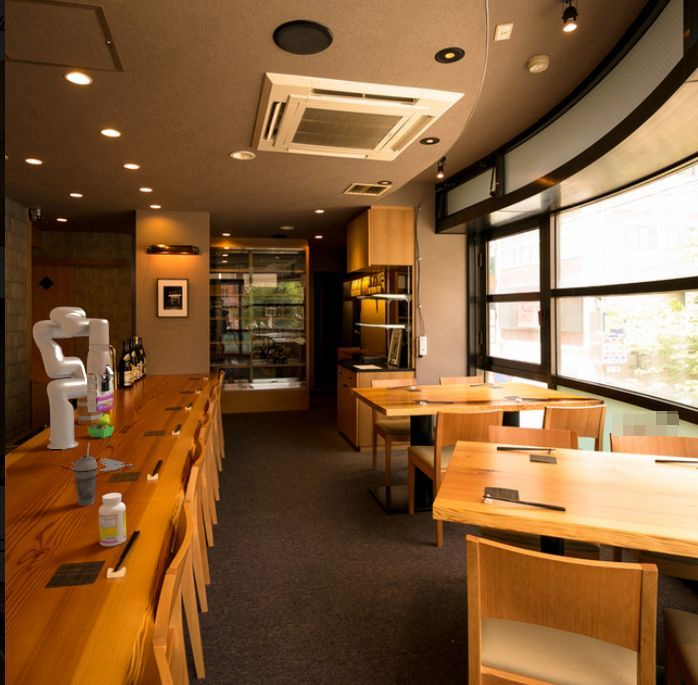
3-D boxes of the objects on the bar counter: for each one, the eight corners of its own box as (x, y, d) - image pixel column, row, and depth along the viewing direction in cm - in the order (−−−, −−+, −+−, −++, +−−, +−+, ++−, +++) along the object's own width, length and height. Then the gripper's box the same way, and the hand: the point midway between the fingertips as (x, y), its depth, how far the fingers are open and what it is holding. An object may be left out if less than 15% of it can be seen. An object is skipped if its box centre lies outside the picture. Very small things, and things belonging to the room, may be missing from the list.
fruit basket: (86, 437, 259) (85, 415, 259) (100, 433, 268) (100, 412, 267) (103, 439, 255) (102, 416, 255) (117, 435, 263) (116, 413, 263)
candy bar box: (103, 408, 225) (103, 370, 225) (114, 408, 225) (113, 371, 224) (86, 412, 214) (85, 373, 214) (97, 413, 214) (96, 373, 213)
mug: (104, 423, 293) (103, 397, 293) (77, 425, 287) (76, 398, 286) (101, 417, 311) (101, 392, 310) (76, 419, 304) (75, 394, 303)
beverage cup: (79, 499, 172) (78, 440, 171) (102, 499, 173) (101, 440, 172) (69, 507, 165) (68, 446, 164) (93, 507, 166) (92, 445, 164)
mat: (61, 466, 210) (61, 465, 209) (97, 457, 223) (97, 456, 223) (98, 475, 198) (98, 475, 198) (134, 465, 211) (134, 464, 211)
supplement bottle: (117, 534, 145) (116, 489, 144) (131, 540, 141) (130, 494, 141) (94, 543, 140) (93, 496, 139) (108, 549, 136) (107, 501, 135)
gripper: (77, 348, 219) (78, 390, 220) (105, 349, 211) (106, 393, 212) (93, 347, 225) (94, 388, 226) (120, 348, 217) (121, 391, 218)
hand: (100, 390), depth 219 cm, fingers closed on candy bar box, 6 cm apart
